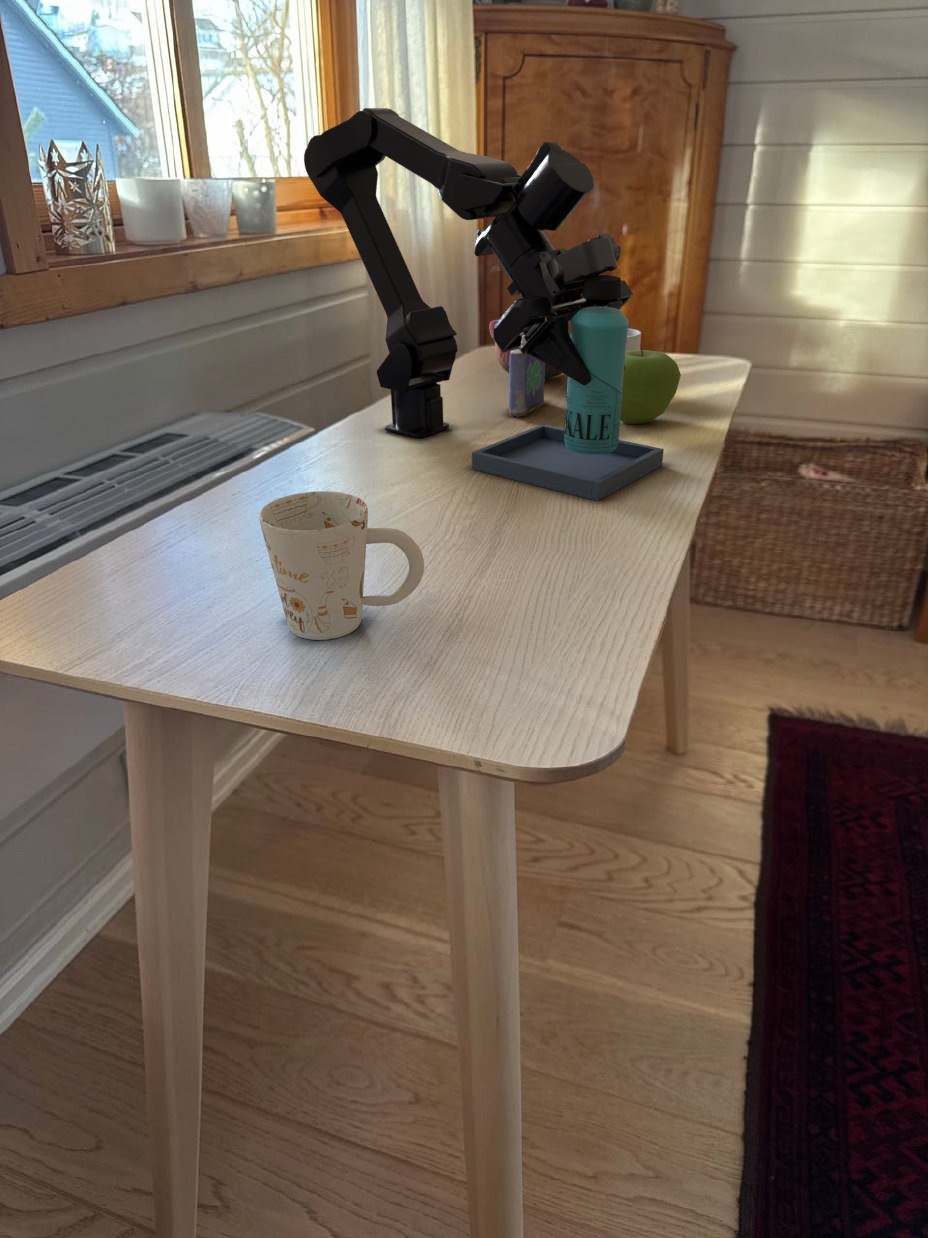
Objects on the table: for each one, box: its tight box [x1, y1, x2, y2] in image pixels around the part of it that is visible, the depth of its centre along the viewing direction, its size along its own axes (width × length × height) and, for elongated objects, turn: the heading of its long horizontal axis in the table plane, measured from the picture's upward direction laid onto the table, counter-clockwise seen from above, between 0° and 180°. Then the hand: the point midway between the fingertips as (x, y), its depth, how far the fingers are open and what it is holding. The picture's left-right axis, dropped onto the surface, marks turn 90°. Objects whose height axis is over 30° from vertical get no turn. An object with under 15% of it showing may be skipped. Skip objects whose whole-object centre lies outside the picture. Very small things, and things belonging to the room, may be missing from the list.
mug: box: [258, 490, 425, 641], centre depth 72 cm, size 8×13×10 cm, turn 95°
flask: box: [507, 332, 545, 418], centre depth 128 cm, size 9×3×11 cm, turn 151°
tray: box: [471, 423, 665, 502], centre depth 107 cm, size 18×15×2 cm
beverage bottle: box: [563, 274, 630, 454], centre depth 99 cm, size 6×7×20 cm
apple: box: [620, 347, 682, 425], centre depth 122 cm, size 11×10×10 cm
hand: (605, 377), depth 98 cm, fingers closed on beverage bottle, 6 cm apart
